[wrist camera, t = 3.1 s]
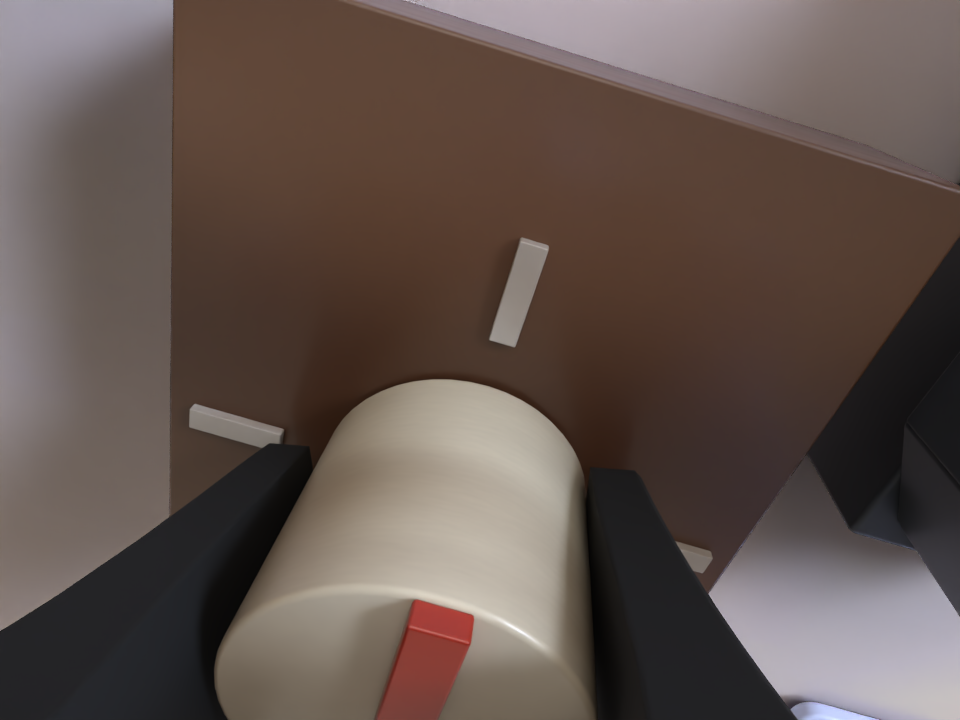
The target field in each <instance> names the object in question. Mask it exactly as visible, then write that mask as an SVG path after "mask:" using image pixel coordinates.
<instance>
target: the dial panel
mask: <svg viewBox="0 0 960 720" xmlns="http://www.w3.org/2000/svg"><path fill="white" fill-rule="evenodd" d="M959 237H960V186H959V185H957V184H955V183H952V182H950V181H948V180H946V179H943V178H941V177H939V176H936V175H934V174H932V173H929V172H927V171H925V170H923V169H920V168H918V167H916V166H913V165H911V164H909V163H907V162H904V161H902V160H900V159H897V158H895V157H893V156H891V155H888V154H886V153H884V152H881V151H879V150H877V149H874V148H872V147H870V146H868V145H865V144H862V143H858V142H855V141H852V140H849V139H846V138H842V137H839V136H836V135H833V134H830V133H826V132H823V131H820V130H817V129H814V128H810V127H807V126H804V125H801V124H798V123H794V122H791V121H788V120H785V119H782V118H778V117H775V116H772V115H769V114H766V113H762V112H759V111H756V110H753V109H750V108H746V107H743V106H740V105H737V104H734V103H730V102H727V101H724V100H721V99H718V98H714V97H711V96H708V95H705V94H702V93H698V92H695V91H692V90H689V89H685V88H682V87H679V86H676V85H673V84H669V83H666V82H663V81H660V80H657V79H653V78H650V77H647V76H644V75H641V74H637V73H634V72H631V71H628V70H625V69H621V68H618V67H615V66H612V65H609V64H605V63H602V62H599V61H596V60H593V59H589V58H586V57H583V56H580V55H577V54H573V53H570V52H567V51H564V50H561V49H557V48H554V47H551V46H548V45H545V44H541V43H538V42H535V41H532V40H529V39H525V38H522V37H519V36H516V35H513V34H509V33H506V32H503V31H500V30H497V29H493V28H490V27H487V26H484V25H481V24H477V23H474V22H471V21H468V20H465V19H461V18H458V17H455V16H452V15H449V14H445V13H442V12H439V11H436V10H433V9H429V8H426V7H423V6H420V5H417V4H413V3H410V2H407V1H404V0H173V122H172V248H171V374H170V499H169V517H170V516H172V515H173V514H174V513H176V512H177V511H178V510H180V509H181V508H183V507H184V506H185V505H187V504H188V503H189V502H191V501H192V500H193V499H195V498H196V497H197V496H199V495H200V494H201V493H203V492H204V491H205V490H207V489H208V488H209V487H211V486H212V485H213V484H215V483H216V482H217V481H219V480H220V479H221V478H222V477H224V476H225V475H226V474H228V473H229V472H230V471H232V470H233V469H234V468H236V467H237V466H238V465H240V464H241V463H242V462H244V461H245V460H246V459H248V458H249V457H250V456H252V455H253V454H255V453H256V452H257V451H259V450H260V449H262V448H263V447H265V446H266V445H267V444H269V443H274V444H288V445H301V446H309V447H310V453H311V459H312V465H313V470H314V468H315V466H316V465H317V463H318V461H319V459H320V457H321V455H322V453H323V452H324V450H325V448H326V446H327V444H328V442H329V440H330V439H331V437H332V435H333V433H334V431H335V430H336V428H337V427H338V425H339V424H340V422H341V421H342V420H343V418H344V417H345V416H346V415H347V414H348V413H349V412H350V411H351V410H352V409H353V408H355V407H356V406H357V405H359V404H360V403H361V402H363V401H364V400H366V399H367V398H369V397H371V396H373V395H375V394H377V393H379V392H381V391H383V390H386V389H388V388H391V387H394V386H396V385H400V384H404V383H409V382H413V381H420V380H430V379H452V380H460V381H469V382H473V383H478V384H482V385H486V386H490V387H492V388H495V389H498V390H501V391H504V392H506V393H508V394H510V395H512V396H514V397H516V398H518V399H521V400H522V401H524V402H526V403H527V404H529V405H530V406H532V407H533V408H535V409H536V410H538V411H539V412H540V413H541V414H543V415H544V416H545V417H546V418H548V419H549V420H550V421H551V422H552V423H553V424H554V425H555V426H556V427H557V428H558V430H559V431H560V432H561V433H562V434H563V435H564V437H565V438H566V439H567V441H568V442H569V444H570V445H571V446H572V448H573V450H574V452H575V454H576V456H577V458H578V460H579V462H580V465H581V468H582V471H583V474H584V480H585V487H586V499H587V490H588V482H589V473H590V467H595V468H608V469H622V470H635V471H636V472H637V473H638V474H639V475H640V477H641V478H642V480H643V482H644V484H645V486H646V488H647V490H648V492H649V494H650V496H651V498H652V500H653V502H654V504H655V506H656V508H657V509H658V511H659V513H660V515H661V517H662V519H663V520H664V522H665V524H666V526H667V528H668V529H669V531H670V533H671V535H672V536H673V538H674V540H675V542H676V543H677V545H678V547H679V548H680V550H681V552H682V553H683V555H684V557H685V558H686V560H687V562H688V563H689V565H690V567H691V568H692V570H693V571H694V573H695V574H696V576H697V578H698V579H699V581H700V582H701V584H702V585H703V587H704V588H705V590H706V592H707V593H709V592H710V591H711V589H712V588H713V586H714V585H715V584H716V582H717V581H718V579H719V578H720V576H721V575H722V574H723V572H724V571H725V569H726V568H727V566H728V565H729V564H730V562H731V561H732V559H733V558H734V557H735V555H736V554H737V552H738V551H739V549H740V548H741V547H742V545H743V544H744V542H745V541H746V539H747V538H748V537H749V535H750V534H751V532H752V531H753V530H754V528H755V527H756V525H757V524H758V522H759V521H760V520H761V518H762V517H763V515H764V514H765V512H766V511H767V510H768V508H769V507H770V505H771V504H772V503H773V501H774V500H775V498H776V497H777V495H778V494H779V493H780V491H781V490H782V488H783V487H784V486H785V484H786V483H787V481H788V480H789V478H790V477H791V476H792V474H793V473H794V471H795V470H796V468H797V467H798V466H799V464H800V463H801V461H802V460H803V459H804V457H805V456H806V454H807V453H808V451H809V450H810V449H811V447H812V446H813V444H814V443H815V441H816V440H817V439H818V437H819V436H820V434H821V433H822V432H823V430H824V429H825V427H826V426H827V424H828V423H829V422H830V420H831V419H832V417H833V416H834V414H835V413H836V412H837V410H838V409H839V407H840V406H841V405H842V403H843V402H844V400H845V399H846V397H847V396H848V395H849V393H850V392H851V390H852V389H853V387H854V386H855V385H856V383H857V382H858V380H859V379H860V378H861V376H862V375H863V373H864V372H865V370H866V369H867V368H868V366H869V365H870V363H871V362H872V360H873V359H874V358H875V356H876V355H877V353H878V352H879V351H880V349H881V348H882V346H883V345H884V343H885V342H886V341H887V339H888V338H889V336H890V335H891V334H892V332H893V331H894V329H895V328H896V326H897V325H898V324H899V322H900V321H901V319H902V318H903V316H904V315H905V314H906V312H907V311H908V309H909V308H910V307H911V305H912V304H913V302H914V301H915V299H916V298H917V297H918V295H919V294H920V292H921V291H922V289H923V288H924V287H925V285H926V284H927V282H928V281H929V280H930V278H931V277H932V275H933V274H934V272H935V271H936V270H937V268H938V267H939V265H940V264H941V262H942V261H943V260H944V258H945V257H946V255H947V254H948V253H949V251H950V250H951V248H952V247H953V245H954V244H955V243H956V241H957V240H958V238H959Z"/></svg>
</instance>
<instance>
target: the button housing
mask: <svg viewBox="0 0 960 720" xmlns="http://www.w3.org/2000/svg"><path fill="white" fill-rule="evenodd" d="M959 186H960V184H959ZM807 455H808V457H809V458H810V460H811V462H812V464H813V466H814V467H815V469H816V471H817V473H818V475H819V476H820V478H821V480H822V482H823V483H824V485H825V487H826V489H827V491H828V492H829V494H830V496H831V498H832V500H833V501H834V503H835V505H836V507H837V509H838V510H839V512H840V514H841V516H842V518H843V519H844V521H845V523H846V525H847V527H848V528H849V529H850V530H851V531H852V532H854V533H857V534H860V535H863V536H867V537H870V538H874V539H877V540H881V541H884V542H888V543H891V544H895V545H898V546H901V547H905V548H908V549H912V550H915V551H917V552H918V554H919V555H920V557H921V558H922V560H923V561H924V563H925V564H926V566H927V567H928V569H929V570H930V572H931V573H932V575H933V576H934V578H935V580H936V581H937V583H938V584H939V586H940V587H941V589H942V590H943V592H944V593H945V595H946V596H947V598H948V599H949V601H950V602H951V604H952V605H953V607H954V608H955V610H956V611H957V613H958V614H959V616H960V237H959V238H958V240H957V241H956V243H955V244H954V245H953V247H952V248H951V250H950V251H949V253H948V254H947V255H946V257H945V258H944V260H943V261H942V262H941V264H940V265H939V267H938V268H937V270H936V271H935V272H934V274H933V275H932V277H931V278H930V280H929V281H928V282H927V284H926V285H925V287H924V288H923V289H922V291H921V292H920V294H919V295H918V297H917V298H916V299H915V301H914V302H913V304H912V305H911V307H910V308H909V309H908V311H907V312H906V314H905V315H904V316H903V318H902V319H901V321H900V322H899V324H898V325H897V326H896V328H895V329H894V331H893V332H892V334H891V335H890V336H889V338H888V339H887V341H886V342H885V343H884V345H883V346H882V348H881V349H880V351H879V352H878V353H877V355H876V356H875V358H874V359H873V360H872V362H871V363H870V365H869V366H868V368H867V369H866V370H865V372H864V373H863V375H862V376H861V378H860V379H859V380H858V382H857V383H856V385H855V386H854V387H853V389H852V390H851V392H850V393H849V395H848V396H847V397H846V399H845V400H844V402H843V403H842V405H841V406H840V407H839V409H838V410H837V412H836V413H835V414H834V416H833V417H832V419H831V420H830V422H829V423H828V424H827V426H826V427H825V429H824V430H823V432H822V433H821V434H820V436H819V437H818V439H817V440H816V441H815V443H814V444H813V446H812V447H811V449H810V450H809V451H808V453H807Z"/></svg>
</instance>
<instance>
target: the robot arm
mask: <svg viewBox="0 0 960 720" xmlns="http://www.w3.org/2000/svg"><path fill="white" fill-rule="evenodd" d="M312 472H313V465H312V459H311V453H310V447H309V446H301V445H288V444H274V443H269V444H267V445H266V446H265V447H263V448H262V449H260V450H259V451H257V452H256V453H255V454H253V455H252V456H250V457H249V458H248V459H246V460H245V461H244V462H242V463H241V464H240V465H238V466H237V467H236V468H234V469H233V470H232V471H230V472H229V473H228V474H226V475H225V476H224V477H222V478H221V479H220V480H219V481H217V482H216V483H215V484H213V485H212V486H211V487H209V488H208V489H207V490H205V491H204V492H203V493H201V494H200V495H199V496H197V497H196V498H195V499H193V500H192V501H191V502H189V503H188V504H187V505H185V506H184V507H183V508H181V509H180V510H178V511H177V512H176V513H174V514H173V515H172V516H170V517H169V518H168V519H166V520H165V521H164V522H162V523H161V524H160V525H158V526H157V527H155V528H154V529H153V530H151V531H150V532H149V533H147V534H146V535H145V536H143V537H142V538H140V539H139V540H138V541H136V542H135V543H133V544H132V545H130V546H129V547H127V548H126V549H125V550H123V551H122V552H120V553H119V554H117V555H116V556H114V557H113V558H111V559H110V560H108V561H107V562H106V563H104V564H103V565H101V566H100V567H98V568H97V569H95V570H94V571H92V572H91V573H89V574H88V575H87V576H85V577H84V578H82V579H81V580H79V581H78V582H76V583H75V584H73V585H72V586H70V587H69V588H67V589H66V590H65V591H63V592H62V593H60V594H59V595H57V596H56V597H54V598H53V599H51V600H49V601H48V602H46V603H45V604H43V605H42V606H40V607H39V608H37V609H35V610H34V611H32V612H31V613H29V614H27V615H26V616H24V617H23V618H21V619H19V620H18V621H16V622H15V623H13V624H11V625H10V626H8V627H6V628H5V629H3V630H1V631H0V720H228V719H227V718H226V716H225V715H224V712H223V710H222V708H221V706H220V703H219V701H218V698H217V694H216V689H215V683H214V666H215V660H216V655H217V651H218V648H219V646H220V644H221V642H222V639H223V637H224V635H225V633H226V632H227V630H228V628H229V626H230V624H231V622H232V620H233V619H234V617H235V615H236V613H237V611H238V609H239V607H240V606H241V604H242V602H243V600H244V598H245V596H246V594H247V593H248V591H249V589H250V587H251V585H252V583H253V581H254V580H255V578H256V576H257V574H258V572H259V570H260V568H261V567H262V565H263V563H264V561H265V559H266V557H267V555H268V554H269V552H270V550H271V548H272V546H273V544H274V542H275V541H276V539H277V537H278V535H279V533H280V531H281V530H282V528H283V526H284V524H285V522H286V520H287V518H288V517H289V515H290V513H291V511H292V509H293V507H294V505H295V504H296V502H297V500H298V498H299V496H300V494H301V492H302V491H303V489H304V487H305V485H306V483H307V481H308V479H309V478H310V476H311V474H312ZM586 511H587V531H588V550H589V565H590V577H591V595H592V614H593V633H594V652H595V671H596V690H597V709H598V720H879V719H875V718H872V717H868V716H865V715H861V714H857V713H854V712H850V711H847V710H843V709H839V708H836V707H832V706H829V705H825V704H821V703H817V702H803V703H800V704H797V705H795V706H794V707H793V708H792V709H791V710H790V709H789V708H788V706H787V705H786V704H785V702H784V701H783V700H782V698H781V697H780V696H779V694H778V693H777V692H776V691H775V689H774V688H773V687H772V685H771V684H770V683H769V681H768V680H767V679H766V677H765V676H764V674H763V673H762V672H761V670H760V669H759V667H758V666H757V665H756V663H755V662H754V660H753V659H752V658H751V656H750V655H749V654H748V652H747V651H746V649H745V648H744V647H743V645H742V644H741V642H740V641H739V640H738V638H737V637H736V635H735V634H734V632H733V631H732V629H731V628H730V626H729V625H728V624H727V622H726V621H725V619H724V618H723V616H722V615H721V613H720V612H719V610H718V609H717V607H716V606H715V604H714V603H713V601H712V599H711V598H710V596H709V595H708V593H707V592H706V590H705V588H704V587H703V585H702V584H701V582H700V581H699V579H698V578H697V576H696V574H695V573H694V571H693V570H692V568H691V567H690V565H689V563H688V562H687V560H686V558H685V557H684V555H683V553H682V552H681V550H680V548H679V547H678V545H677V543H676V542H675V540H674V538H673V536H672V535H671V533H670V531H669V529H668V528H667V526H666V524H665V522H664V520H663V519H662V517H661V515H660V513H659V511H658V509H657V508H656V506H655V504H654V502H653V500H652V498H651V496H650V494H649V492H648V490H647V488H646V486H645V484H644V482H643V480H642V478H641V477H640V475H639V474H638V473H637V472H636V471H635V470H622V469H608V468H595V467H590V473H589V482H588V490H587V499H586Z"/></svg>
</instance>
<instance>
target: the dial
mask: <svg viewBox="0 0 960 720" xmlns="http://www.w3.org/2000/svg"><path fill="white" fill-rule="evenodd" d="M214 683H215V689H216V694H217V698H218V701H219V703H220V706H221V708H222V710H223V712H224V715H225V716H226V718H227V719H228V720H598V709H597V690H596V671H595V652H594V633H593V614H592V595H591V577H590V565H589V550H588V531H587V511H586V487H585V480H584V474H583V471H582V468H581V465H580V462H579V460H578V458H577V456H576V454H575V452H574V450H573V448H572V446H571V445H570V444H569V442H568V441H567V439H566V438H565V437H564V435H563V434H562V433H561V432H560V431H559V430H558V428H557V427H556V426H555V425H554V424H553V423H552V422H551V421H550V420H549V419H548V418H546V417H545V416H544V415H543V414H541V413H540V412H539V411H538V410H536V409H535V408H533V407H532V406H530V405H529V404H527V403H526V402H524V401H522V400H521V399H518V398H516V397H514V396H512V395H510V394H508V393H506V392H504V391H501V390H498V389H495V388H492V387H490V386H486V385H482V384H478V383H473V382H469V381H460V380H452V379H430V380H420V381H413V382H409V383H404V384H400V385H396V386H394V387H391V388H388V389H386V390H383V391H381V392H379V393H377V394H375V395H373V396H371V397H369V398H367V399H366V400H364V401H363V402H361V403H360V404H359V405H357V406H356V407H355V408H353V409H352V410H351V411H350V412H349V413H348V414H347V415H346V416H345V417H344V418H343V420H342V421H341V422H340V424H339V425H338V427H337V428H336V430H335V431H334V433H333V435H332V437H331V439H330V440H329V442H328V444H327V446H326V448H325V450H324V452H323V453H322V455H321V457H320V459H319V461H318V463H317V465H316V466H315V468H314V470H313V472H312V474H311V476H310V478H309V479H308V481H307V483H306V485H305V487H304V489H303V491H302V492H301V494H300V496H299V498H298V500H297V502H296V504H295V505H294V507H293V509H292V511H291V513H290V515H289V517H288V518H287V520H286V522H285V524H284V526H283V528H282V530H281V531H280V533H279V535H278V537H277V539H276V541H275V542H274V544H273V546H272V548H271V550H270V552H269V554H268V555H267V557H266V559H265V561H264V563H263V565H262V567H261V568H260V570H259V572H258V574H257V576H256V578H255V580H254V581H253V583H252V585H251V587H250V589H249V591H248V593H247V594H246V596H245V598H244V600H243V602H242V604H241V606H240V607H239V609H238V611H237V613H236V615H235V617H234V619H233V620H232V622H231V624H230V626H229V628H228V630H227V632H226V633H225V635H224V637H223V639H222V642H221V644H220V646H219V648H218V651H217V655H216V660H215V666H214Z"/></svg>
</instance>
